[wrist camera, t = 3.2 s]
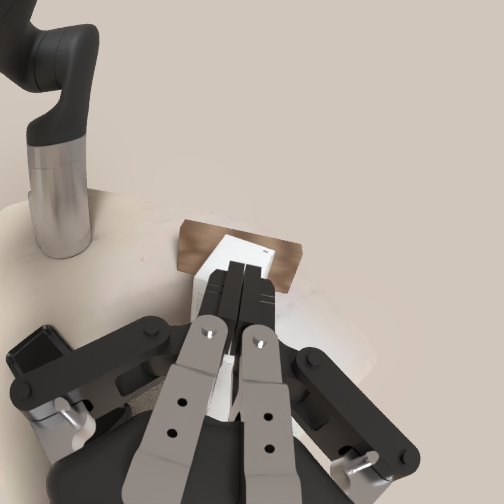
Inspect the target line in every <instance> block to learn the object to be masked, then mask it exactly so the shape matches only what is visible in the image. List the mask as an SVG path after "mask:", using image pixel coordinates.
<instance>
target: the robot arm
mask: <svg viewBox="0 0 504 504" xmlns="http://www.w3.org/2000/svg"><path fill="white" fill-rule="evenodd" d="M36 2H37V0H0V72H1V73H2V74H4V75H5V76H6V77H8V78H9V79H10V80H12V81H13V82H14V83H15V84H17V85H18V86H19V87H21V88H22V89H24V90H26V91H28V92H32V93H41V92H48V91H55V90H62V91H61V96H60V99H59V101H58V103H57V104H56V105H55V106H54V107H53V108H52V109H51V110H50V111H48V112H47V113H46V114H44V115H42V116H40V117H38V118H36V119H35V120H33V121H32V122H30V123H29V125H28V127H27V132H26V133H27V135H26V136H27V156H28V169H29V179H30V187H31V191H29V193H28V199H29V206H30V211H31V217H32V222H33V227H34V231H35V236H36V240H37V244H38V246H39V247H41V248H42V250H43V252H44V253H45V255H47V256H49V257H51V258H57V259H60V258H68V257H71V256H74V255H77V254H79V253H80V252H82V251H83V250H85V249H86V248H87V247H88V245H89V244H90V242H91V230H90V221H89V209H88V197H87V181H86V180H87V179H86V126H87V116H88V110H89V101H90V92H91V86H92V80H93V75H94V70H95V65H96V60H97V55H98V49H99V32H98V29H97V28H96V26H94V25H92V24H82V25H75V26H68V27H63V28H58V29H53V30H48V31H43V30H39V29H37V28H36V27H35V26H33V25H32V23H31V22H30V18H31V16H32V13H33V10H34V7H35V5H36ZM244 268H245V271H244ZM261 271H262V267H260V266H255V265H250V264H246V266H245V263H240V262H235V261H230V262H229V266H228V271H225V270H220V269H216V270H215V271H213V272H212V273H211V274H210V276H209V279H208V283H207V286H206V290H205V293H204V296H203V299H202V303H201V306H200V310H199V313H198V316H197V317H196V319H194V321H192V322H191V323H189V324H186V325H182V326H169V325H168V323H167V322H166V321H165V320H163V319H162V318H160V317H156V316H146V317H143V318H141V319H139V320H136V321H134V322H132V323H130V324H128V325H126V326H124V327H122V328H120V329H118V330H116V331H114V332H112V333H110V334H108V335H106V336H103V337H101V338H99V339H97V340H95V341H93V342H91V343H89V344H87V345H85V346H83V347H81V348H78V349H76V350H74V351H72V352H70V353H68V354H66V355H64V356H62V357H60V358H57V359H55V360H53V361H51V362H49V363H47V364H45V365H43V366H40V367H38V368H36V369H34V370H32V371H30V372H28V373H25V374H23V375H21V376H19V377H17V378H16V379H15V380H14V381H13V383H12V384H11V387H10V398H11V401H12V403H13V405H14V406H15V407H16V408H17V409H18V410H19V411H21V412H22V413H23V414H24V416H25V417H26V418H27V419H28V420H29V421H30V423H31V425H32V427H33V430H34V432H35V434H36V436H37V438H38V440H39V442H40V444H41V446H42V448H43V450H44V452H45V454H46V456H47V457H48V459H49V461H50V463H51V465H52V466H51V468H50V469H49V471H48V474H47V478H46V488H47V493H48V497H49V500H50V503H51V504H373V503H374V502H375V501H376V500H377V499H378V498H379V496H380V495H381V494H382V493H383V492H384V491H385V490H386V489H387V488H388V486H389V485H390V484H391V483H392V482H393V481H395V480H397V479H400V478H403V477H406V476H408V475H410V474H412V473H414V472H415V471H416V470H417V468H418V467H419V464H420V453H419V451H418V449H417V448H416V447H415V446H414V445H413V444H412V443H411V442H410V441H409V440H408V439H407V438H406V437H405V436H404V435H403V434H402V432H400V430H399V429H398V428H396V427H395V425H394V424H393V423H392V422H391V421H390V420H389V419H388V418H387V417H386V416H385V415H384V414H383V413H382V412H381V411H380V410H379V409H378V408H377V407H376V406H375V405H374V404H373V403H372V402H371V401H370V400H369V399H368V398H367V397H366V396H365V395H364V394H363V393H362V391H361V390H359V388H358V387H357V386H356V385H355V384H354V383H353V382H352V381H351V380H350V379H349V378H348V377H347V376H346V375H345V374H344V373H343V372H342V371H341V370H340V368H339V367H338V366H337V365H336V364H335V363H334V362H333V361H332V360H331V359H330V358H329V357H328V356H327V355H326V354H325V353H324V352H323V351H321V350H320V349H317V348H314V347H306V348H303V349H301V350H300V351H298V350H295V349H293V348H291V347H288V346H286V345H285V344H283V343H282V342H281V341H280V340H279V339H278V337H277V335H276V333H275V287H274V285H273V283H272V282H271V280H269V279H264V278H261ZM231 341H232V342H231ZM230 345H231V348H230ZM229 349H230V355H231V356H235V358H234V365H233V368H232V372H231V395H230V412H229V418H228V422H222V421H218V420H216V419H214V418H211V417H209V416H207V414H208V410H209V406H210V402H211V398H212V395H213V391H214V387H215V384H216V380H217V376H218V372H219V369H220V367H221V366H222V362H223V358H224V354H225V355H228V353H229ZM163 380H165V381H164V384H163V387H162V389H161V392H160V394H159V397H158V399H157V402H156V404H155V407H154V410H149V411H145V412H142V413H139V414H137V415H135V416H133V417H131V418H130V419H128V420H127V421H125V422H124V423H122V424H120V425H119V426H117V427H116V428H114V429H112V430H111V431H109V432H107V433H106V434H104V435H102V436H101V437H99V438H97V439H96V440H94V441H92V442H90V443H89V444H87V445H85V446H83V445H84V443H85V442H86V440H87V439H89V438H90V437H91V436H92V435H93V434H94V432H95V429H96V423H95V419H97V418H99V417H101V416H103V415H105V414H107V413H108V412H110V411H112V410H114V409H116V408H117V407H119V406H121V405H123V404H124V403H126V402H128V401H130V400H131V399H133V398H135V397H137V396H138V395H140V394H142V393H143V392H145V391H147V390H149V389H150V388H152V387H154V386H155V385H157V384H159V383H160V382H162V381H163ZM291 416H292V417H293V418H294V419H295V421H296V422H297V423H298V424H299V425H300V427H301V428H302V429H303V430H304V431H305V432H306V434H307V435H308V436H309V437H310V438H311V439H312V440H313V441H314V443H315V444H316V445H317V446H318V447H319V448H320V449H321V450H322V451H323V453H324V454H325V455H326V456H327V457H328V458H329V459H330V460H331V461H332V463H331V466H330V475H331V477H332V478H333V479H332V478H331V477H330V476H329V474H327V472H326V471H325V470H324V469H323V467H322V466H321V465H320V464H319V463H318V461H317V460H316V459H315V458H314V457H313V456H312V454H311V453H310V452H309V451H308V449H307V448H306V447H305V446H304V445H303V444H302V443H301V442H300V441H299V440H298V439H297V438H296V437H294V436H293V430H292V419H291Z"/></svg>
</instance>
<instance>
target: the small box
mask: <svg viewBox="0 0 504 504" xmlns="http://www.w3.org/2000/svg"><path fill="white" fill-rule="evenodd" d="M274 254H275V251H274V250H271V249H269V248H266V247H263V246H260V245H257V244H254V243H251V242H248V241H245V240H242V239H239V238H236V237H233V236H230V235H227V234H225V236H224V237H223V238H222V240H221V241H220V242H219V244H218V245H217V246H216V248H215V249H214V250H213V252H212V253H211V254H210V256H209V257H208V258H207V260H206V261H205V262H204V264H203V265H202V266H201V268H200V269H199V270H198V272H197V273H196V275H195V276H194V279H193V290H192V302H191V318H190V323H191V322H192V321H194V319H196V317H197V316H198V313H199V310H200V306H201V303H202V299H203V296H204V293H205V290H206V286H207V283H208V279H209V276H210V274H211V273H212V272H213V271H215V270H216V269H220V270H225V271H228V266H229V262H230V261H235V262H240V263H245V266H246V264H250V265H255V266H260V267H262V271H261V278H264V279H267V276H268V273H269V270H270V267H271V264H272V261H273V257H274ZM244 271H245V268H244ZM231 342H232V341H231ZM230 348H231V345H230ZM234 358H235V356H231V355H230V349H229V353H228V355H225V354H224V358H223V361H226V362H228V363H231V364H234Z"/></svg>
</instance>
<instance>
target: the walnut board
mask: <svg viewBox="0 0 504 504" xmlns="http://www.w3.org/2000/svg"><path fill="white" fill-rule="evenodd" d="M225 234H227V235H230V236H233V237H236V238H239V239H242V240H245V241H248V242H251V243H254V244H257V245H260V246H263V247H266V248H269V249H271V250H274V251H275V254H274V257H273V261H272V264H271V267H270V270H269V273H268V276H267V279H269V280H271V282H272V283H273V285H274V287H275V291H277V292H282V293H288V291H289V288H290V286H291V283H292V281H293V278H294V276H295V273H296V270H297V268H298V265H299V263H300V260H301V257H302V255H303V253H302V246H301V244H298V243H293V242H288V241H284V240H280V239H275V238H271V237H266V236H262V235H257V234H253V233H248V232H243V231H239V230H234V229H229V228H225V227H220V226H215V225H210V224H206V223H201V222H196V221H191V220H186V219H185V220H184V222H183V224H182V225H181V227H180V235H179V249H178V266H177V270H178V271H182V272H187V273H191V274H196V273H197V272H198V270H199V269H200V268H201V266H202V265H203V264H204V262H205V261H206V260H207V258H208V257H209V256H210V254H211V253H212V252H213V250H214V249H215V248H216V246H217V245H218V244H219V242H220V241H221V240H222V238H223V237H224V236H225Z"/></svg>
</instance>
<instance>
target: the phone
mask: <svg viewBox="0 0 504 504" xmlns="http://www.w3.org/2000/svg"><path fill="white" fill-rule="evenodd" d="M70 352H72V350H71V348H70V347H69V346H68V345H67V344H66V343H65V342H64V340H63V339H62V338H61V337H60V336H59V335H58V333H57V332H56V331H55V330H54V329H53V327H52V326H50V325H43V326H41V327H40V328H39V329H37V330H36V331H35V332H33V333H32V334H31V335H29V336H28V337H27V338H25V339H24V340H23V341H22V342H20V343H19V344H18V345H17V346H15V347H14V348H13V349H12V350H10V351H9V352H8V353H7V355H6V362H7V364H8V366H9V368H10V370H11V372H12V373H13V375H14V376H15V378H17V377H19V376H21V375H23V374H25V373H28V372H30V371H32V370H34V369H36V368H38V367H40V366H43V365H45V364H47V363H49V362H51V361H53V360H55V359H57V358H60V357H62V356H64V355H66V354H68V353H70ZM131 416H132V411H131V409H130V407H129V405H128V404H127V402H126V403H124V404H123V405H121V406H119V407H117V408H116V409H114V410H112V411H110V412H108V413H107V414H105V415H103V416H101V417H99V418H97V419H95V423H96V429H95V432H94V434H93V435H92V436H91V437H90V438H89V439H87V440H86V442H85V443H84V445H83V446H85V445H87V444H89V443H90V442H92V441H94V440H96V439H97V438H99V437H101V436H102V435H104V434H106V433H107V432H109V431H111V430H112V429H114V428H116V427H117V426H119V425H120V424H122V423H124V422H125V421H127V420H128V419H130V418H131Z"/></svg>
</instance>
